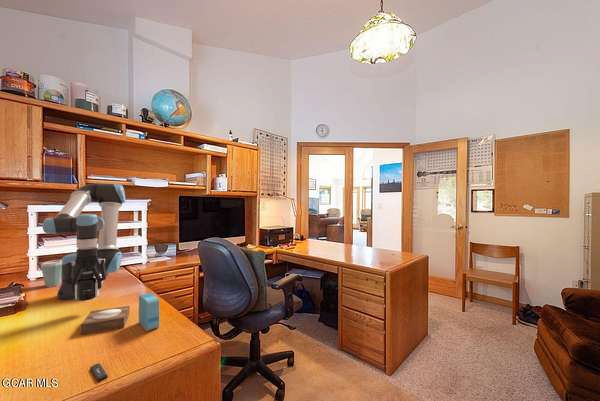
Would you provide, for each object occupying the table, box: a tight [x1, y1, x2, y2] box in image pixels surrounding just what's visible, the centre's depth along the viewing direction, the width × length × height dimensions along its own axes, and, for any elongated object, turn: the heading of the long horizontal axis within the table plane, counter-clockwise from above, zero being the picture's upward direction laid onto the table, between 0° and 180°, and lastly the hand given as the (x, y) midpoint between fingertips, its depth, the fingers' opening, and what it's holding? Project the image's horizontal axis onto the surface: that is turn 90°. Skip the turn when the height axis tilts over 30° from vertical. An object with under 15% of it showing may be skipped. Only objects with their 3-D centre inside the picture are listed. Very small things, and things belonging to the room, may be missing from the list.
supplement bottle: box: [77, 271, 97, 302], centre depth 121 cm, size 7×7×12 cm
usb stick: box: [89, 363, 109, 383], centre depth 78 cm, size 10×3×2 cm, turn 49°
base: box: [80, 305, 130, 336], centre depth 110 cm, size 14×14×4 cm
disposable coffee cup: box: [40, 259, 62, 288], centre depth 162 cm, size 11×11×15 cm
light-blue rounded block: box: [138, 292, 160, 332], centre depth 109 cm, size 12×4×12 cm, turn 45°
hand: (87, 296), depth 122 cm, fingers closed on supplement bottle, 7 cm apart
